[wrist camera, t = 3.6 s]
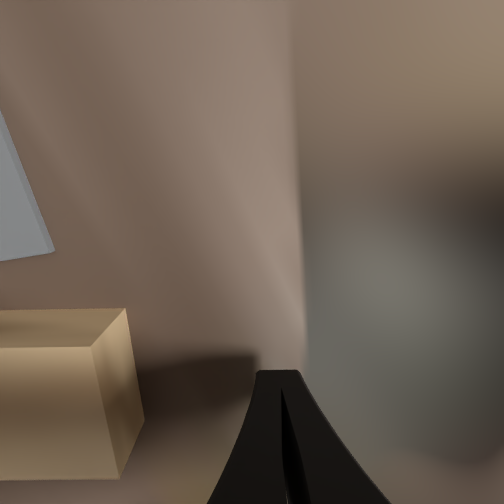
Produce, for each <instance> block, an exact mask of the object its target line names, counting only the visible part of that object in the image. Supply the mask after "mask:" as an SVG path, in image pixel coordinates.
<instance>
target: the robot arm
mask: <svg viewBox="0 0 504 504" xmlns="http://www.w3.org/2000/svg"><path fill="white" fill-rule="evenodd" d="M285 488H286V489H285ZM286 494H287V498H286ZM287 500H288V504H391V503H390V502H389V501H388V499H387V498H386V497H385V496H384V495H383V493H382V492H381V491H380V490H379V489H378V487H377V486H376V485H375V484H374V483H373V481H372V480H371V479H370V478H369V477H368V475H367V474H366V473H365V472H364V470H363V469H362V468H361V466H360V465H359V464H358V462H357V461H356V460H355V459H354V457H353V456H352V454H351V453H350V452H349V450H348V449H347V448H346V446H345V445H344V444H343V442H342V441H341V439H340V438H339V437H338V435H337V434H336V432H335V431H334V429H333V428H332V426H331V425H330V423H329V422H328V420H327V419H326V417H325V416H324V414H323V413H322V411H321V409H320V408H319V406H318V405H317V403H316V401H315V400H314V398H313V396H312V394H311V393H310V391H309V389H308V388H307V386H306V384H305V382H304V380H303V378H302V376H301V373H300V372H299V371H298V370H259V371H258V372H257V373H256V379H255V385H254V390H253V394H252V397H251V401H250V405H249V408H248V411H247V413H246V416H245V419H244V422H243V425H242V428H241V431H240V433H239V436H238V438H237V440H236V443H235V445H234V448H233V450H232V452H231V455H230V457H229V459H228V462H227V464H226V466H225V468H224V470H223V472H222V475H221V477H220V479H219V481H218V483H217V485H216V487H215V489H214V491H213V493H212V495H211V497H210V499H209V501H208V502H207V504H287Z"/></svg>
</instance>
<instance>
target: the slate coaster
mask: <svg viewBox="0 0 504 504" xmlns="http://www.w3.org/2000/svg"><path fill="white" fill-rule="evenodd" d="M53 251H55V248H54V246H53V243H52V241H51V238H50V236H49V233H48V231H47V228H46V225H45V223H44V220H43V218H42V215H41V213H40V210H39V208H38V205H37V203H36V200H35V197H34V195H33V192H32V190H31V187H30V185H29V182H28V180H27V177H26V174H25V172H24V169H23V167H22V164H21V162H20V159H19V157H18V154H17V151H16V149H15V146H14V144H13V141H12V139H11V136H10V134H9V131H8V128H7V126H6V123H5V121H4V118H3V116H2V113H1V111H0V261H4V260H10V259H16V258H23V257H29V256H35V255H41V254H47V253H51V252H53Z"/></svg>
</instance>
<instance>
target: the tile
mask: <svg viewBox="0 0 504 504" xmlns="http://www.w3.org/2000/svg"><path fill="white" fill-rule="evenodd" d="M144 421H145V419H144V413H143V407H142V402H141V396H140V390H139V384H138V379H137V373H136V367H135V361H134V356H133V350H132V344H131V338H130V333H129V327H128V321H127V316H126V310H125V308H103V309H48V310H0V480H93V479H120V477H121V474H122V472H123V470H124V468H125V465H126V463H127V461H128V458H129V456H130V454H131V451H132V449H133V447H134V444H135V442H136V440H137V437H138V435H139V433H140V430H141V428H142V426H143V423H144Z"/></svg>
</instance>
